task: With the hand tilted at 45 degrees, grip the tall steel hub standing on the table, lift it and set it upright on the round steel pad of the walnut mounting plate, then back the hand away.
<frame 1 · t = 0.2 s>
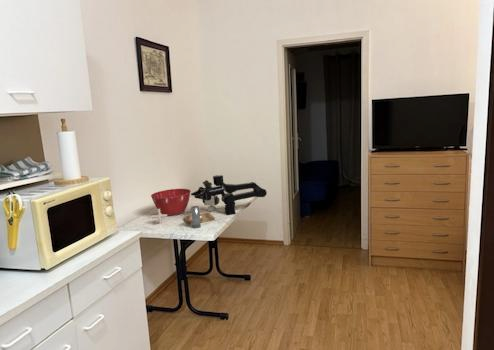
hand: (192, 195, 251), 17 cm above the table, tool horizontal, fingers open, 9 cm apart
pneumatic valve: (212, 210, 275), on the table
mixing bowl: (173, 213, 276), on the table
pipe connector: (160, 223, 251), on the table
mounting plate: (199, 219, 253), on the table
steel hub: (196, 227, 237), on the table
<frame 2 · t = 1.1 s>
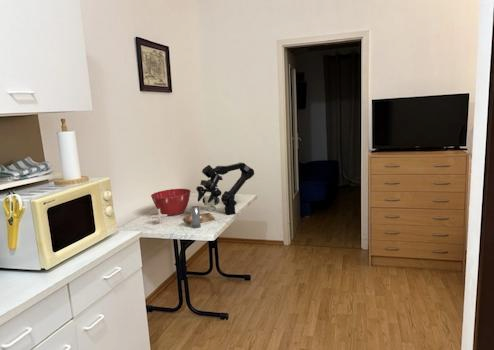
hand: (203, 201, 244), 14 cm above the table, tool tilted 45°, fingers open, 9 cm apart
nothing on the table moved.
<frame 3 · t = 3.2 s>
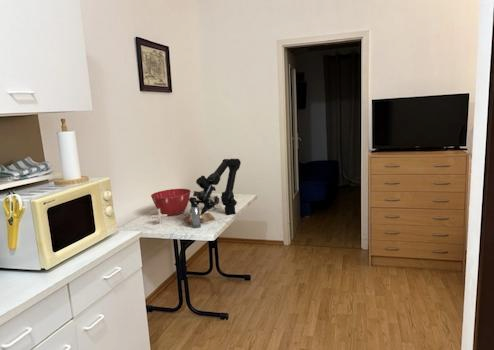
hand: (195, 213, 236), 9 cm above the table, tool tilted 45°, fingers open, 9 cm apart
nothing on the table moved.
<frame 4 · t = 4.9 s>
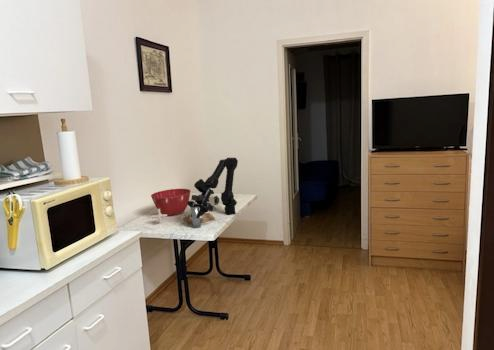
hand: (194, 217, 235), 7 cm above the table, tool tilted 45°, fingers closed on steel hub, 5 cm apart
steel hub: (196, 227, 237), on the table, touching gripper
everything else where it was.
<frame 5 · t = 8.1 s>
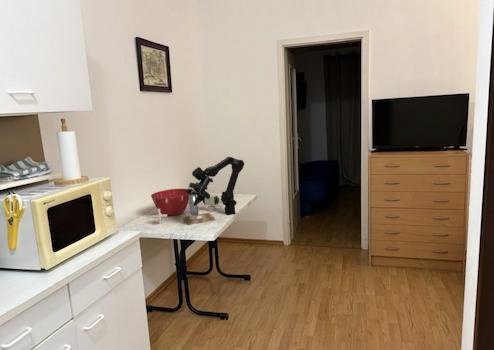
hand: (191, 204, 239), 14 cm above the table, tool tilted 45°, fingers closed on steel hub, 5 cm apart
steel hub: (194, 214, 241), point 7 cm above the table, touching gripper
everything else where it was.
when the fingers open (10 cm above the table, at t = 11.1 s): steel hub drops 1 cm, resting on mounting plate.
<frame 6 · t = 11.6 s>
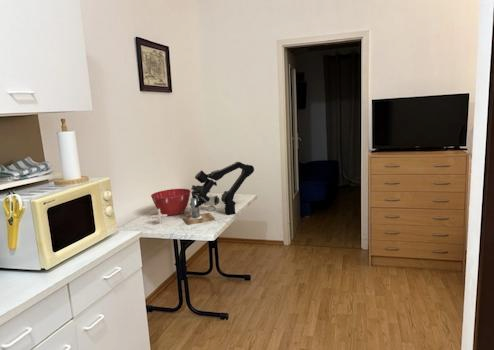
hand: (192, 206, 250), 10 cm above the table, tool tilted 45°, fingers open, 9 cm apart
steel hub: (196, 217, 252), point 2 cm above the table, touching mounting plate
everything else where it was.
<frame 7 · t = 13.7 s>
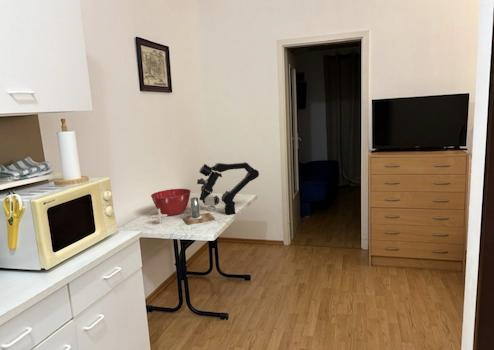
hand: (200, 199, 254), 13 cm above the table, tool tilted 35°, fingers open, 9 cm apart
nothing on the table moved.
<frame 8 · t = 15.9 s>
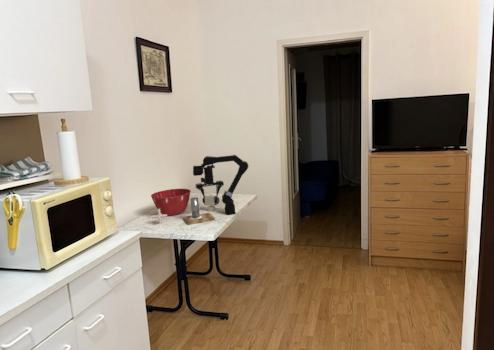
hand: (210, 196, 261), 13 cm above the table, tool pointing down, fingers open, 9 cm apart
nothing on the table moved.
at the end: steel hub inside the target area on the mounting plate (1.4 cm from its centre), point 2.3 cm above the mounting plate's base; steel hub tilted 0°; the gripper is holding nothing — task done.
